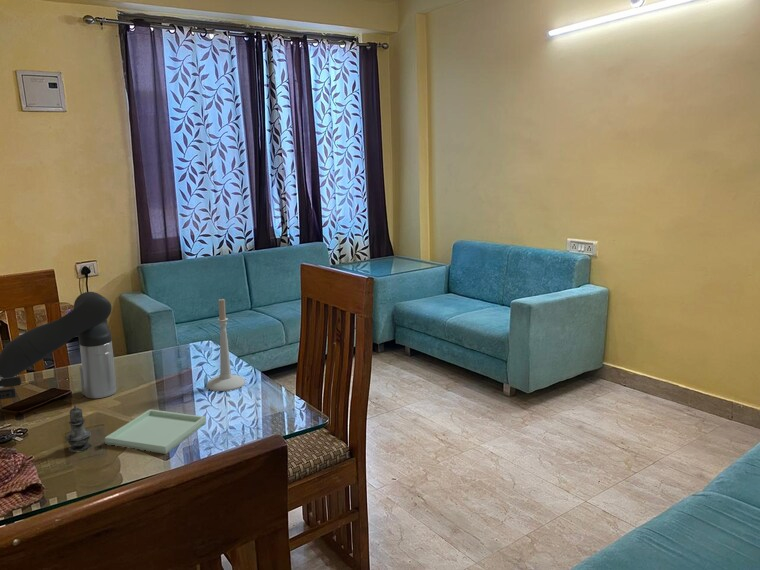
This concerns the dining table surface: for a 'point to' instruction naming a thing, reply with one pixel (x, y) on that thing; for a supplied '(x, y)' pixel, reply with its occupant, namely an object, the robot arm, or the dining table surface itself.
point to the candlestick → (224, 360)
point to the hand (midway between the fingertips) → (18, 386)
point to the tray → (156, 431)
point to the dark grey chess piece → (78, 432)
